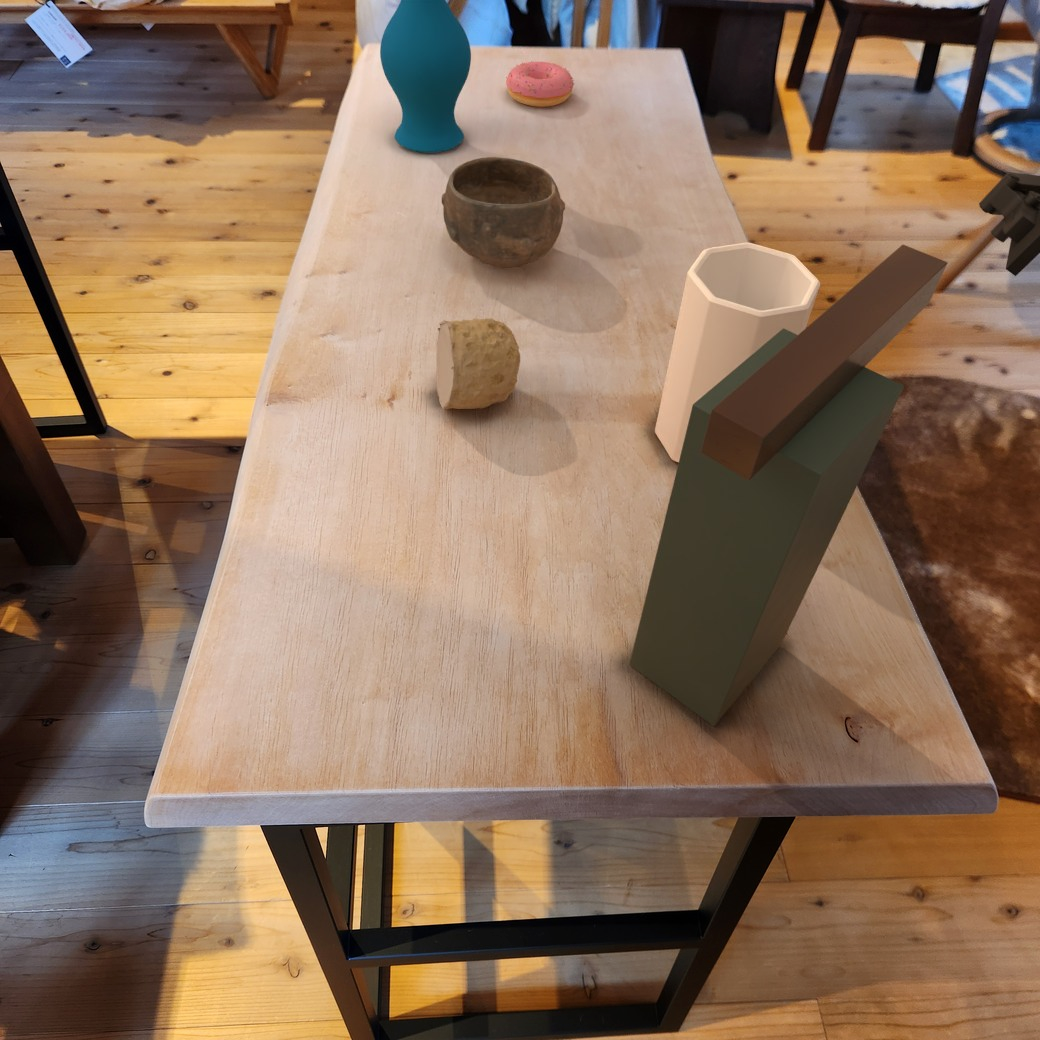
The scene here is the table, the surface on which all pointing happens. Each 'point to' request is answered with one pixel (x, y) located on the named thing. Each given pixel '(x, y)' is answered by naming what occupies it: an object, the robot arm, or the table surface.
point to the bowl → (502, 211)
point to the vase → (426, 72)
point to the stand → (749, 541)
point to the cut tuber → (475, 363)
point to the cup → (728, 323)
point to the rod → (819, 362)
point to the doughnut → (539, 84)
